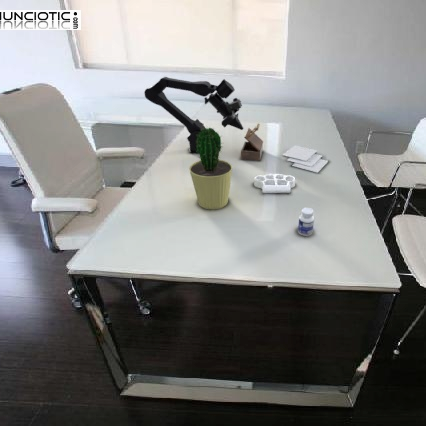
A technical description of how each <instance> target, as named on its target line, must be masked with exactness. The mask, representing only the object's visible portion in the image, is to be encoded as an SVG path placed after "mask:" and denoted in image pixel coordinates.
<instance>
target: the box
mask: <svg viewBox="0 0 426 426" xmlns="http://www.w3.org/2000/svg"><path fill="white" fill-rule="evenodd" d="M263 148H264V144H263V145H262V148H261V151H260V152H259V151H258V150H257V149H256V148H255V147H254V146H253V145H251V144H250V143H249V142H248V141H244V143H243V145H242V148H241V150H240V160H242V161H243V160H244V161H255V162H256V161H257V162H260V161H261V159H262V156H263V151H264V149H263Z"/></svg>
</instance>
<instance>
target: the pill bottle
mask: <svg viewBox="0 0 426 426" xmlns="http://www.w3.org/2000/svg"><path fill="white" fill-rule="evenodd" d="M314 223H315V216H314V210H313V208H311V207H303V208H302V209H301V214H299V217H298V225H297V232H298V234H300V235H301V236H303V237H308V236H311V235H312V234H313V231H314Z"/></svg>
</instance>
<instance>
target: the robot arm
mask: <svg viewBox="0 0 426 426" xmlns="http://www.w3.org/2000/svg"><path fill="white" fill-rule="evenodd" d="M167 88H169V89H175V90H181V91H186V92H191V93H194V94H195V95H197V96H201V97H204V105H207V104H208V103H209V104H210V105H211V106H212V107H213V108H214V109H215V110H216V113H217V114H220V115H221V117H222V121H221V126H222V127H223V128H226V127H227V126H230V127H234V128H236V129H238V130H241V131H243V130H244V126H243V124H242V123H241V121H240V118H239V113H238V112H239V111H240V109H242V107H243V105H242V100H240V98H239V99H238V98H237V97H235V98H233V99H232V101H231V102H228V101H225V100H224V99H228V98H229V97H230V96H231V95H232V94H233V93H234V92H235V87H234V85H232V83H231V82H229V81H227V80H226V79H225V78H223V79H222V80H221V81H220V83H219V84H218V85H217V84H216V85H215V84H211V83H210V82H209V81H207V80H198V81H189V80H183V79H178V78H173V77H172V78H171V77H168V76H163V77H161V78H160V79H159V80H158V81H157V82H156V83H155V84H153V85H152V86H149V87H147V88H146V89H145V90H144V93H143V94H144V97H145V99H146V100H148V101H149V102H150V103H152V104H154V105H157V106H159V107H161V108H162V109H164V110H165V111H166V112H167V113H169V115H171V116H172V117H174V118H175V119H176V120H177V121H178V122H179V123H181V124H182V125H183V126H184V127H185V128H186V130H187V132H188V133H189V135H188V136H187V137H186V139H187V142H188V143H189V153H190V154H196V152H197V154H199V153H198V151H197V148H196V147H197V144H196V143H197V140H198V136H199V134H198V133H200V132H201V131H202V130H203V129H202V128H204V129H205V128H206V126H205V125H204V123H203V122H201V121H200V119H198V118H196V120H194V119H193V118H191V117H189V116H188V115H187V114H186V113H185V112H183V110H181V109H180V108H179V107H178V106H176V105H175V103H173V102H172V101H171V100H169V99H168V97H167V96H166V94H165V92H164V90H166V89H167ZM207 96H208V97H207ZM204 126H205V127H204ZM196 134H197V135H196ZM195 141H196V142H195Z"/></svg>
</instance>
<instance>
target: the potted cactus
mask: <svg viewBox="0 0 426 426" xmlns="http://www.w3.org/2000/svg"><path fill="white" fill-rule="evenodd" d="M204 127H205V129H204V128H202V129H203V130H202V131H201V132H200V133H198V134H199V136H198V140H197V143H196V144H197V147H196V148H197V151H198V153H197V152H196V153H195V154H198V155H199V158H200V160H198V161H197V160H196V161H195V162H193V163H191V164H190V166H189V169H188V170H189V173H190V174H189V175H190V177H191V181H192V185H193V188H194V191H195V195H196V199H197V203H198V204H199V206H200V208H203V209H206V210H218V209H219V210H220V209H222V208H224V207H225V206H227V204H228V202H229V196H230V187H231V180H232V172H233V165H232V164H231V163H229V162H228V161H225V160H222V159H220V158H221V155H220V153H221V151H222V148H223V147H224V146H223V145H222V144H223V142H222V136H221V135H220V134H219V131H220V130H219V131H218V130H217V131H216V130H215V129H214V128H213V127H208V128H207V127H206V126H205V125H204ZM196 135H197V134H196ZM195 142H196V141H195Z"/></svg>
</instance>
